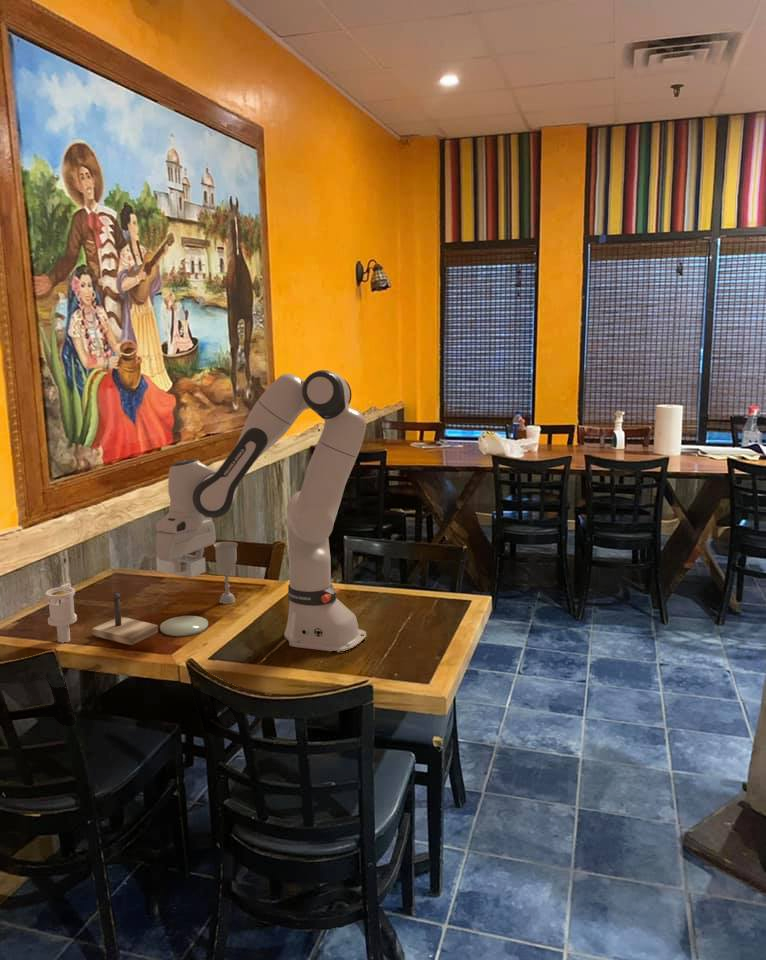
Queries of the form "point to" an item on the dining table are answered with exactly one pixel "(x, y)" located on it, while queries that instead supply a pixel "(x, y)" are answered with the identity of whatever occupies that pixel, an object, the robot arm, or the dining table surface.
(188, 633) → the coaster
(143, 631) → the stand
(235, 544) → the chalice
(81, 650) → the dining table surface
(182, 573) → the grey hollow block
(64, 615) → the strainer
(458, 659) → the dining table surface
